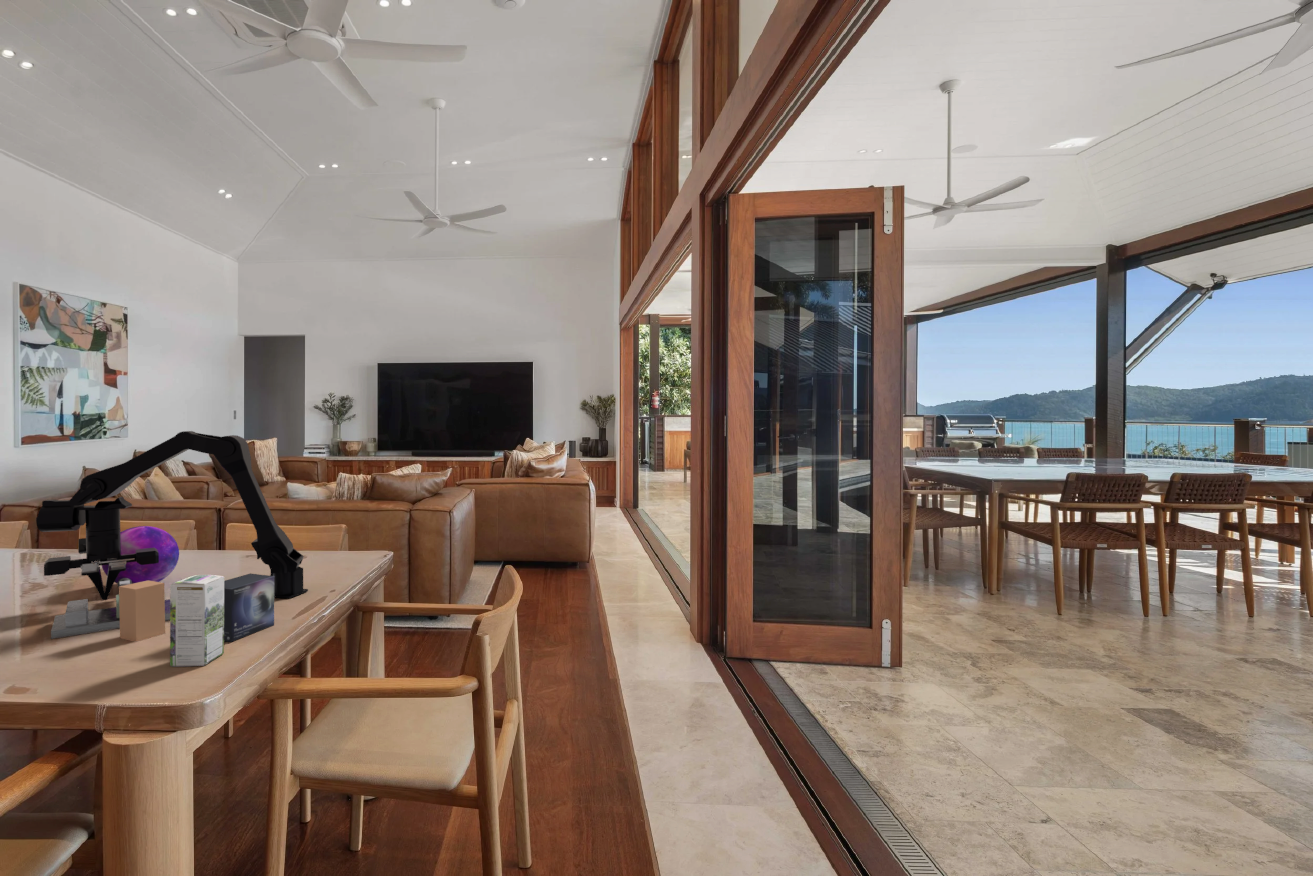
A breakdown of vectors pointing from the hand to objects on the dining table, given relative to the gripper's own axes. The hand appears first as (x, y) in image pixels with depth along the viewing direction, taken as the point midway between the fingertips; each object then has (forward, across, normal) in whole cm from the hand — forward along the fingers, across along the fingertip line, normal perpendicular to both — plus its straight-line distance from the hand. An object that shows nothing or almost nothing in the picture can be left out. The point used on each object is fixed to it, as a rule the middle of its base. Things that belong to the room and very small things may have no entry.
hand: (104, 599), depth 139 cm
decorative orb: (+2, -7, -18) cm, 20 cm away
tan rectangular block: (+2, -6, +26) cm, 27 cm away
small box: (+2, -21, +36) cm, 42 cm away
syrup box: (+2, -13, +48) cm, 50 cm away
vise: (+2, -3, +12) cm, 13 cm away
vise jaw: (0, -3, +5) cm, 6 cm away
